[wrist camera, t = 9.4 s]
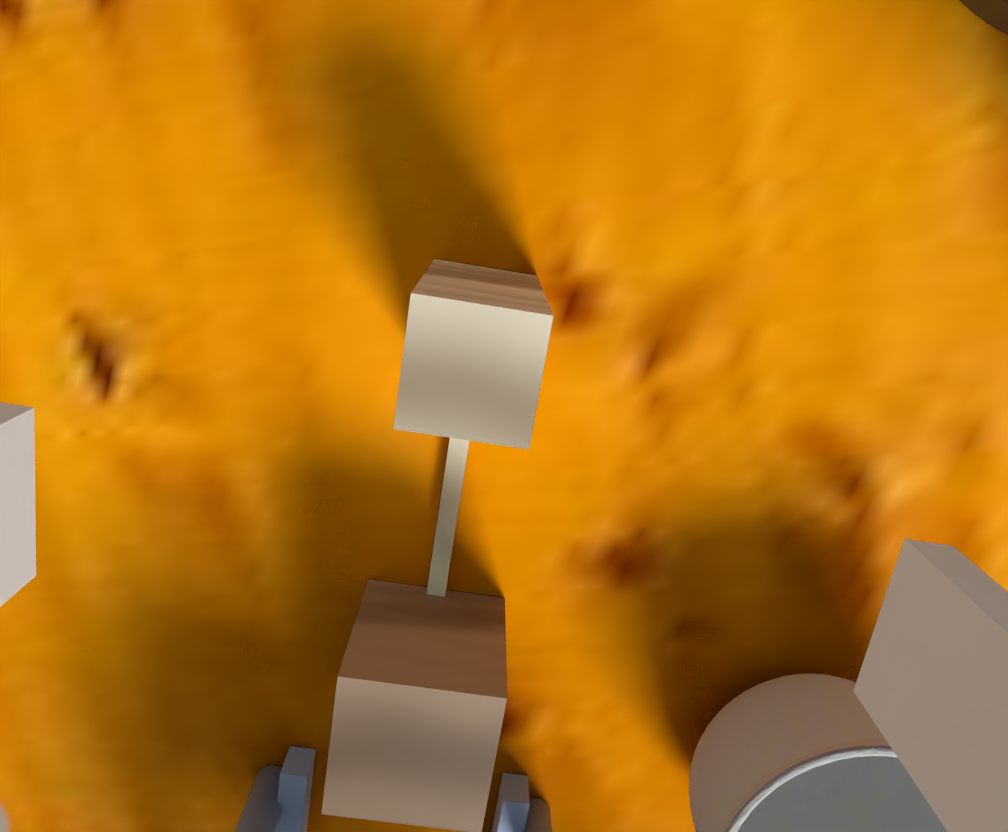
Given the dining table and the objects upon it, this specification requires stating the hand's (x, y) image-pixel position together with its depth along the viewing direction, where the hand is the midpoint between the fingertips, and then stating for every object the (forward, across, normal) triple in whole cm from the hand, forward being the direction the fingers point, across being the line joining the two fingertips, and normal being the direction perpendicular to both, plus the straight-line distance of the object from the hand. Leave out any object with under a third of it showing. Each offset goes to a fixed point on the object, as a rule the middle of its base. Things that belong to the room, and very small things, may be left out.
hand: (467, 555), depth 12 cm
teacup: (+21, +18, -18) cm, 33 cm away
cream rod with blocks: (+20, 0, -8) cm, 22 cm away
